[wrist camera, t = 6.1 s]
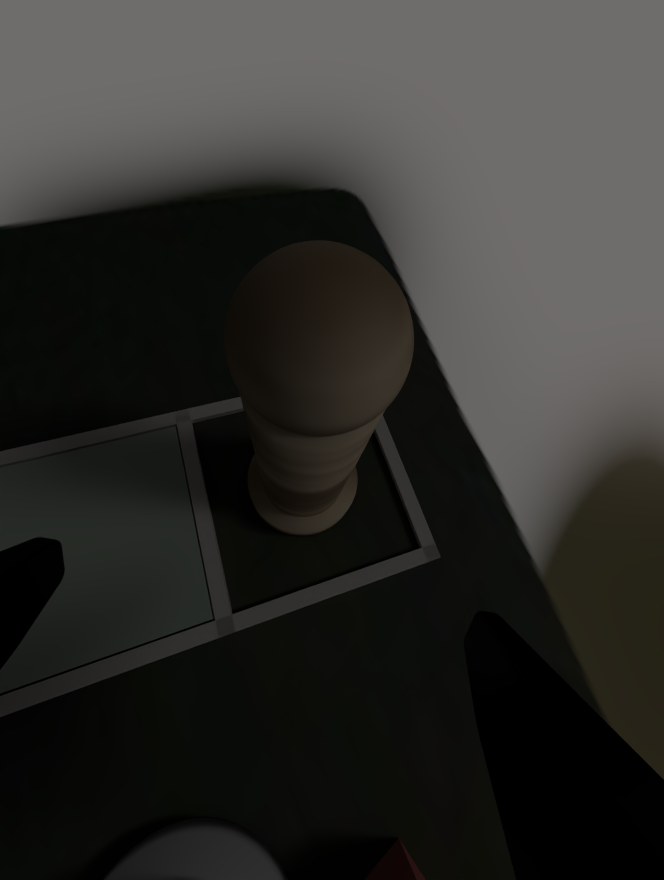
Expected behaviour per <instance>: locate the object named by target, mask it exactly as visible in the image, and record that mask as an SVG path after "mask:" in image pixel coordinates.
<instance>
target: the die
mask: <svg viewBox="0 0 664 880" xmlns="http://www.w3.org/2000/svg"><path fill="white" fill-rule="evenodd" d="M364 880H426V879H425V878H424V876H423V875H422V873H421V872H420V870H419V869H418V867H417V866H416V864H415V863H414V861H413V860H412V858H411V856H410V855H409V853H408V852H407V850H406V849H405V847H404V846H403V844H402V843H401V841H400V840H399V838H398V839H397V840H396V842H395V843H394V844H393V845H392V847H391V848H390V849H389V850H388V851H387V853H386V854H385V855H384V856H383V857H382V859H381V860H380V861H379V862H378V864H377V865H376V866H375V867H374V868H373V870H372V871H371V872H370V873H369V874H368V876H367V877H366V878H365V879H364Z"/></svg>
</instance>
